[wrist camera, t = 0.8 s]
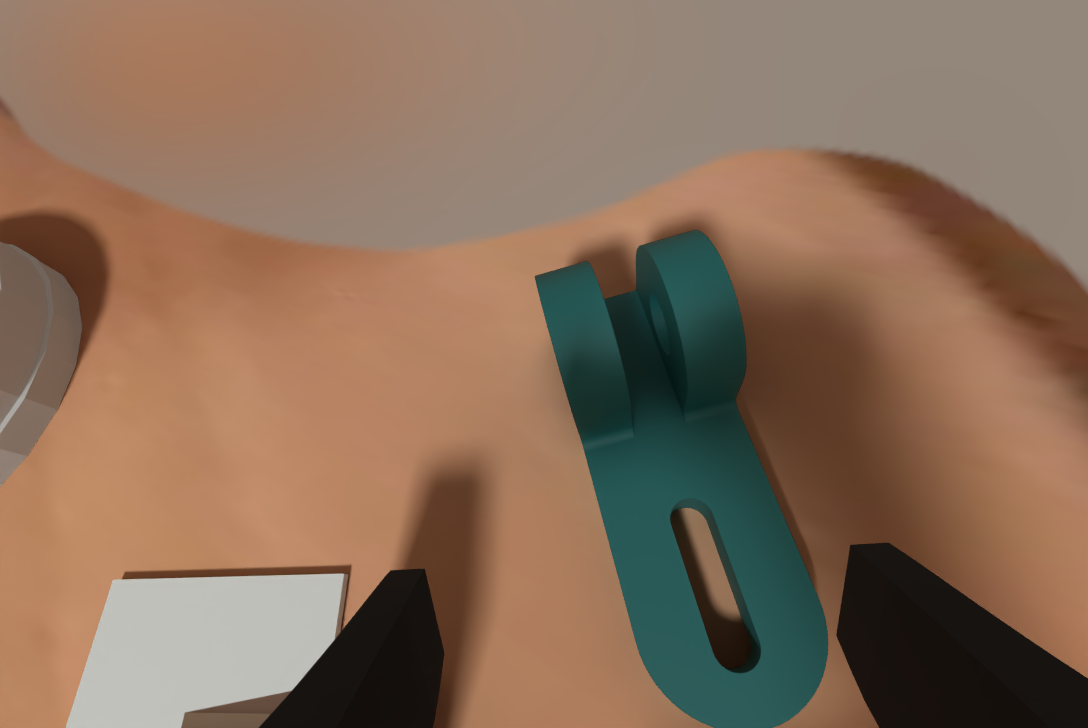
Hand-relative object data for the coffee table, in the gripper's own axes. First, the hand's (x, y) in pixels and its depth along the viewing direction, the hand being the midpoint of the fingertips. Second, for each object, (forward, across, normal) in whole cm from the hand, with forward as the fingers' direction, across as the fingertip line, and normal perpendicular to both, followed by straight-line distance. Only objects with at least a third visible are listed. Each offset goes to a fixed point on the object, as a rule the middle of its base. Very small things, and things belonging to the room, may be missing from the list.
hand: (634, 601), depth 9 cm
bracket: (+13, -3, +7) cm, 15 cm away
